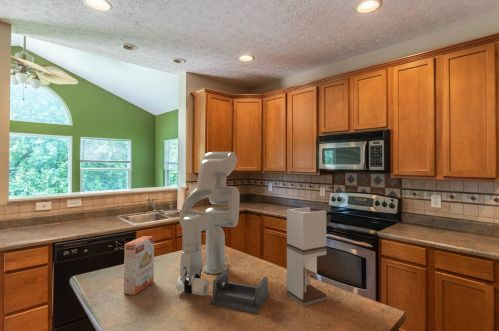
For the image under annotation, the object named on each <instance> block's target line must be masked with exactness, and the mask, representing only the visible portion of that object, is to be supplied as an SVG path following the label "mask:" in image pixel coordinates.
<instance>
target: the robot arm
mask: <svg viewBox="0 0 499 331" xmlns="http://www.w3.org/2000/svg"><path fill="white" fill-rule="evenodd" d="M237 163H238V156H237V154H236V153H235V152H233V151H209V152H207V153H205V154H204V156H203V160H202V161H201V163H200V165H199V170H198V175H197V180H196V186H195V188H194V189H193V191H192V192H190V194H188V196H186V198H185V200H184V201H183V202H182V206H181V210H180V214H179V226H180V227H181V229H182V252H181V256H180V268H179V272H180V276H181V278H180V280H181V281H182V282H183V284H184V292H183V293H184V294H186V295H193V294H192V284H191V279H192V277H193V278H199V279H202V278H201V276H202V271H203V272H204V273H205V274H210V275H218V274H219V275H220V274H222V273H223V272H224V271H229V270H228V269H229V266H228V265H227V264H226V261H227V260H228V257H227V256H226V252H225V251H226V249H225V248H226V235H225V232H224V229H223V228H224V227H225V228H235V227H236V226H237V225H238V223H239V219H240V217H239V216H240V198H241V195H240V191H239V189H238V188H237V187H236V186H227V177H228V176H230V175H231V173H233V171H234V169H235V168H236V166H237ZM207 197H208V200H209V203H210V204H211V205H216V206H217V205H218V206H219V207H218V206H217V207H215V206H214V207H213V206H212V207H208V208H207V209H205V211H204V212H202V211H200V212H199V211H191V210H192V208H193V206H194V205H195V204H196V203H197V202H199V201H200V200H203V199H204V198H207ZM220 205H221V206H220ZM222 206H228V207H222ZM203 231H205V265H204V264H203V254H202V253H203V252H202V232H203ZM187 278H189V280H186V279H187Z"/></svg>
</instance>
